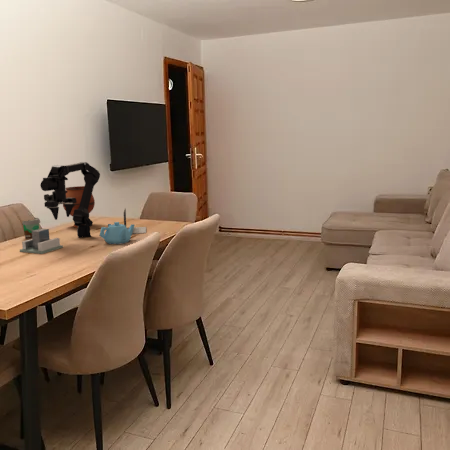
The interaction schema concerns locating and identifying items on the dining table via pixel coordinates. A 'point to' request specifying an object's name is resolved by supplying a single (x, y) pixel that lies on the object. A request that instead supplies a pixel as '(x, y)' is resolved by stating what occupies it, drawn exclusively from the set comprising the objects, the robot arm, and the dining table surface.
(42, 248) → the vise
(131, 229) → the teapot
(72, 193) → the brown clay vase
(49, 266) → the dining table surface
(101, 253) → the dining table surface
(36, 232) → the steel block
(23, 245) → the block
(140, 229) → the laptop
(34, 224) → the food container
